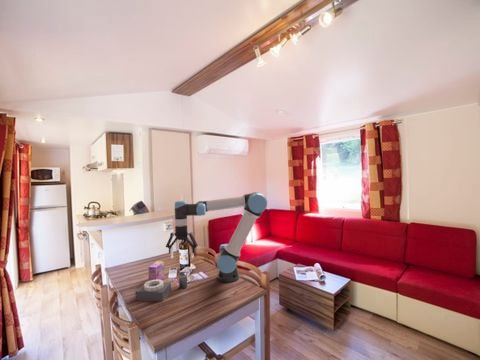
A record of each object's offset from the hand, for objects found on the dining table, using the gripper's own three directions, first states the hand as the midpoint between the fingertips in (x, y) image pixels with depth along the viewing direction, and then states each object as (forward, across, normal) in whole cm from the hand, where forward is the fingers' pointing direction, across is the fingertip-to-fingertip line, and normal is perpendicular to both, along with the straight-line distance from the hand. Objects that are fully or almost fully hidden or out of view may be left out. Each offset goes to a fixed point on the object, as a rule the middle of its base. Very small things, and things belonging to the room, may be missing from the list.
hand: (182, 258), depth 145 cm
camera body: (+18, +14, +11) cm, 25 cm away
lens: (+19, 0, 0) cm, 19 cm away
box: (+18, +21, -7) cm, 29 cm away
